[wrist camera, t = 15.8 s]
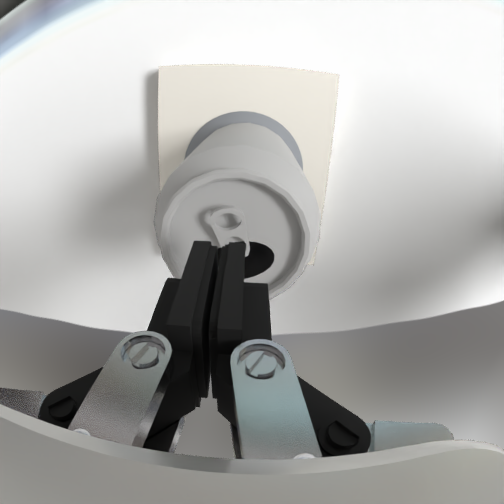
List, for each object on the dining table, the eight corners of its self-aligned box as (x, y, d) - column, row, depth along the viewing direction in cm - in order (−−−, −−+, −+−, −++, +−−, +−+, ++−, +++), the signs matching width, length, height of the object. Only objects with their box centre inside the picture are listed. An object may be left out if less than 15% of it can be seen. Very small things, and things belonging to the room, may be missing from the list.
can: (208, 224, 25) (177, 328, 14) (183, 134, 21) (116, 181, 11) (301, 207, 24) (334, 305, 14) (284, 112, 20) (316, 135, 10)
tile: (334, 75, 20) (339, 74, 19) (311, 256, 28) (313, 265, 27) (164, 67, 20) (158, 66, 18) (169, 248, 28) (164, 257, 26)
